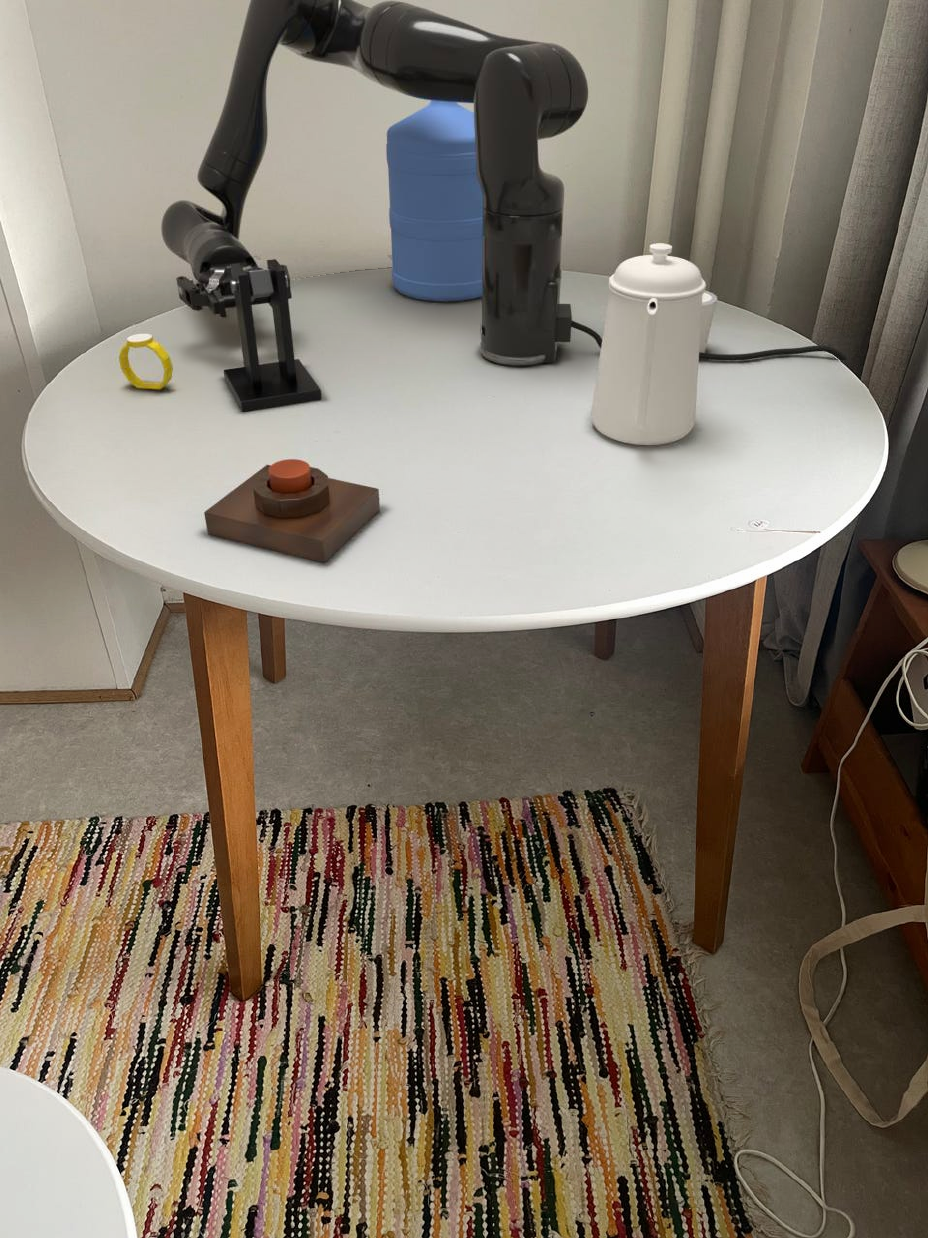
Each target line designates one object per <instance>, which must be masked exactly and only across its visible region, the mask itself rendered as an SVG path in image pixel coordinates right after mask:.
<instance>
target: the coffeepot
mask: <svg viewBox="0 0 928 1238" xmlns="http://www.w3.org/2000/svg"><path fill="white" fill-rule="evenodd" d="M672 250H673V246H672V245H671V244H668V243H662V242H657V243H652V244H650V245H649V253H651V254H646V255H638V256H634V257H631V258H628V259H625V260H624V261H622V262H620V264H619V265H618V266H617V267H616V269H615V271H614V273H613V274H612V275H610V277H609V279H608V289H609V295H608V301H607V307H606V314H605V321H604V327H603V333H602V345H601V349H600V353H599V359H598V366H597V372H596V377H595V386H594V390H593V398H592V403H591V411H590V419H591V423H592V424H593V426H594V427H595V428H596V430H597V431H599V432H600V433H601V434H602V435H603V436H605V437H607V438H610V439H612V440H614V441H617V442H621V443H625V444H630V445H637V446H659V445H665V444H670V443H673V442H676V441H678V440H680V439H683V438H684V437H686V436H687V435H688V434H689V433H690V432H691V431H692V430H693V428H694V426H695V423H696V412H697V411H696V410H697V397H698V396H697V393H698V377H699V363H700V362H699V360H700V358H699V345H700V328H701V311H702V295H703V294H704V292H705V291H706V288H707V284H706V281H705V280H704V279H703V278H702V274H701V271H700V269H699V267H698V266H697V265H695V264H694V263H693V262H691V261H690V260H687V259H684V258H682V257H677V256H671V255H670V254H671V253H672Z"/></svg>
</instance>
